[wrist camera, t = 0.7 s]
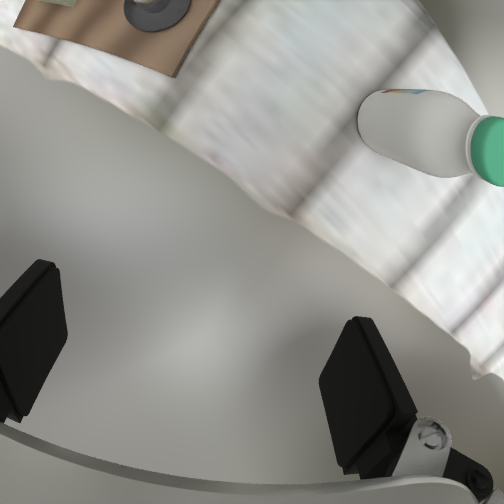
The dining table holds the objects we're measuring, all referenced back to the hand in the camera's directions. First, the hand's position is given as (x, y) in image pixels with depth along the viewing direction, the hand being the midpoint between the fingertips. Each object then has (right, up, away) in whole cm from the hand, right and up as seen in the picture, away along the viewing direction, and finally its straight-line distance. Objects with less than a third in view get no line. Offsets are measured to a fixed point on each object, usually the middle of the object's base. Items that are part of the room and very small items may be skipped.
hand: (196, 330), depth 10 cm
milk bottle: (+17, +17, +23) cm, 34 cm away
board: (-14, +31, +15) cm, 37 cm away
